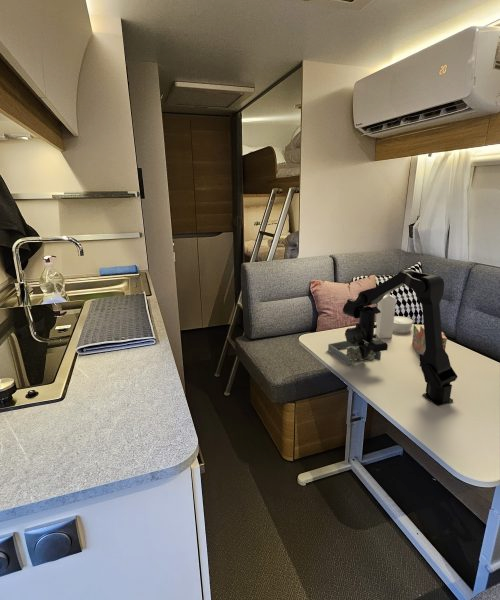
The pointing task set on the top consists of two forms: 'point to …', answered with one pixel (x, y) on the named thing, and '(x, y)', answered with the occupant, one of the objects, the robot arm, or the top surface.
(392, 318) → the milk
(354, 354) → the egg carton
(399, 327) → the ramekin
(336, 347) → the box
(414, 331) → the stack of blocks
